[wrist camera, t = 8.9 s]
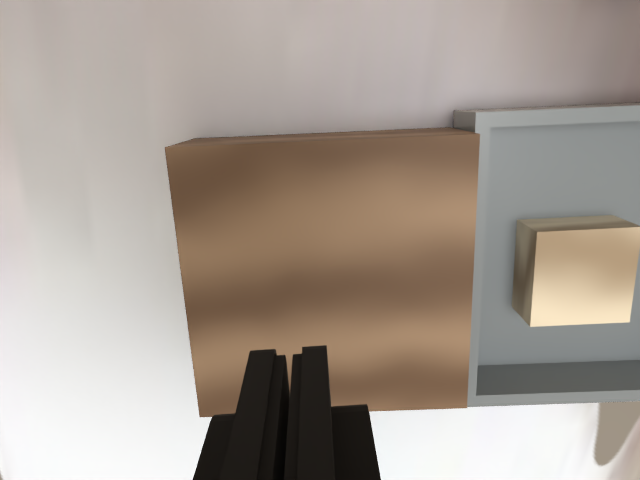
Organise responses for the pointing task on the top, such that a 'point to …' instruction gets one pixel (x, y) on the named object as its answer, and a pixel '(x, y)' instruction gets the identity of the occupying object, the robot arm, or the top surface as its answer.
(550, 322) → the birch tile
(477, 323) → the bin
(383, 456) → the top surface
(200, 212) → the walnut riser
